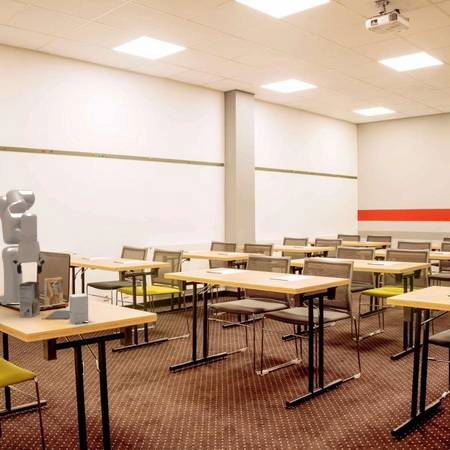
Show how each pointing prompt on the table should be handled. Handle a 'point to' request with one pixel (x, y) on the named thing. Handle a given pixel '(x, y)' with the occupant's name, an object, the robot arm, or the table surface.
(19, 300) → the robot arm
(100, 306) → the table surface
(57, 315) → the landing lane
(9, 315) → the table surface
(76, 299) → the supplement box
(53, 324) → the table surface
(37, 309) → the coffee box
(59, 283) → the candy box
